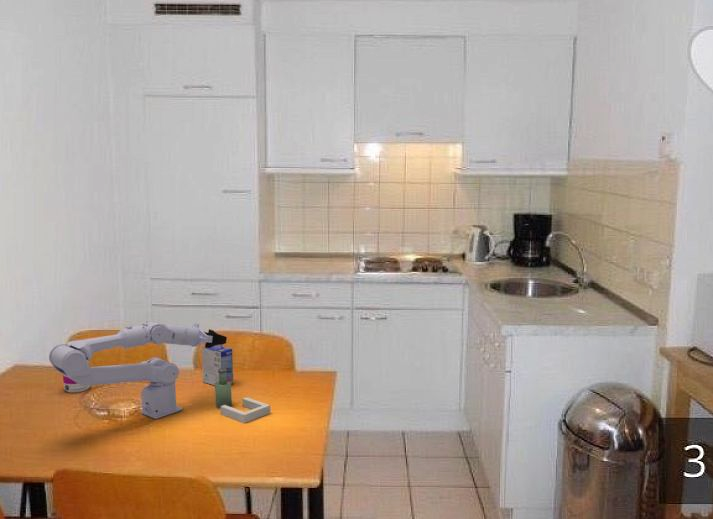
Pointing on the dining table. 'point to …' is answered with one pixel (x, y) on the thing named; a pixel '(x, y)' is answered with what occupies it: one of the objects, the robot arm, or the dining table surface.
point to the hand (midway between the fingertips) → (218, 338)
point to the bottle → (223, 390)
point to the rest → (256, 412)
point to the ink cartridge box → (216, 363)
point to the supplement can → (73, 384)
